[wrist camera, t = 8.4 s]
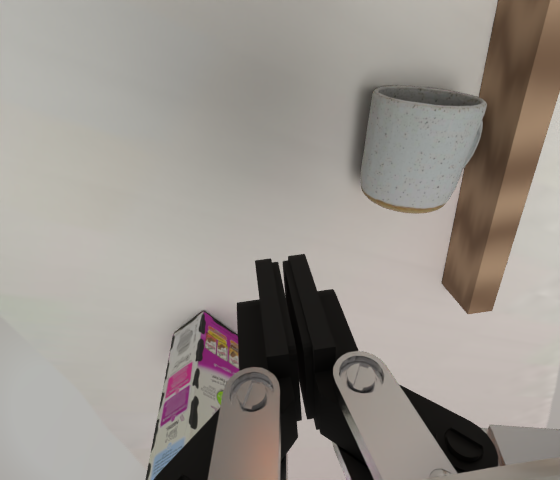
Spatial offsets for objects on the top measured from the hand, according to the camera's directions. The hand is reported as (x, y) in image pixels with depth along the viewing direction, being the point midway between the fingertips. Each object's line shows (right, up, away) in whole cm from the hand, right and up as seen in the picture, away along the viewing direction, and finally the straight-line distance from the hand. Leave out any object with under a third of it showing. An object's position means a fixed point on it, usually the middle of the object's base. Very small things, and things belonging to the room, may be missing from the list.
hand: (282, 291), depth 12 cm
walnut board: (+18, +10, +19) cm, 28 cm away
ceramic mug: (+11, +11, +18) cm, 24 cm away
